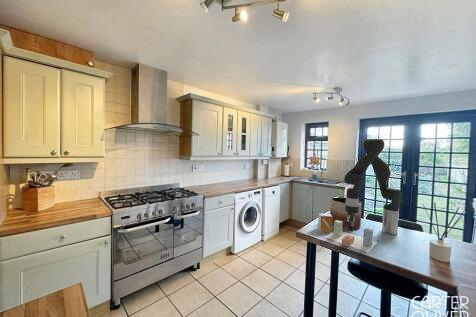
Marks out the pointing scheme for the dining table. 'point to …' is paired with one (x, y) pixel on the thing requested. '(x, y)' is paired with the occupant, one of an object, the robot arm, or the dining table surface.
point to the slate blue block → (367, 237)
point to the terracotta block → (348, 240)
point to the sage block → (338, 228)
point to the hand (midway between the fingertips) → (350, 230)
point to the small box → (325, 222)
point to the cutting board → (357, 241)
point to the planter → (343, 212)
